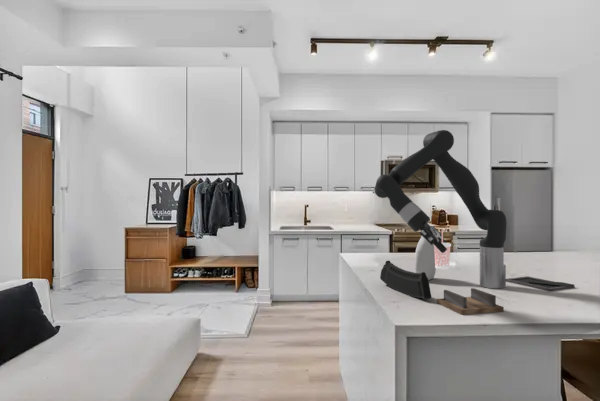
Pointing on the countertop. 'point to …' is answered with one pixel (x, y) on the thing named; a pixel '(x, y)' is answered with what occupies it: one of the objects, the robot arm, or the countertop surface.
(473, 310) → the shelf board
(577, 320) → the countertop surface
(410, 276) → the magazine
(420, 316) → the countertop surface
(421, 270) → the soap bottle
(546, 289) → the picture frame
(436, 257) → the beverage cup
